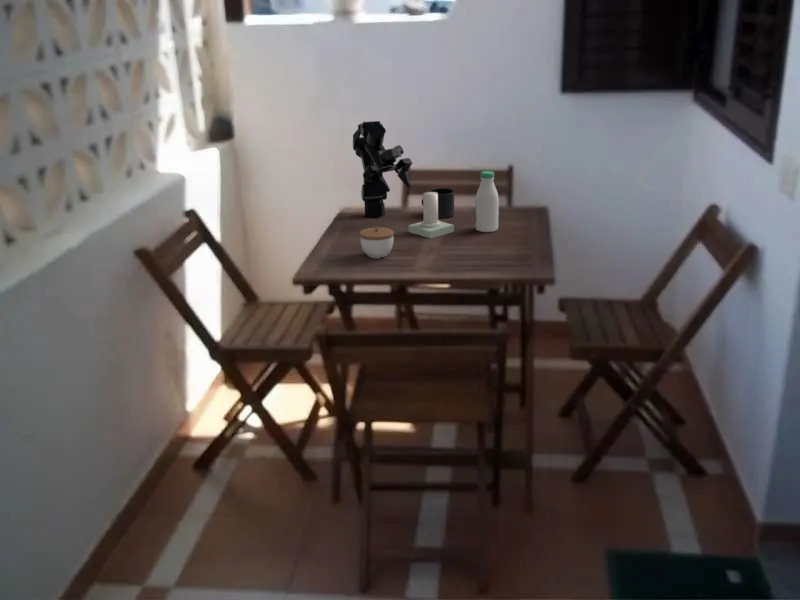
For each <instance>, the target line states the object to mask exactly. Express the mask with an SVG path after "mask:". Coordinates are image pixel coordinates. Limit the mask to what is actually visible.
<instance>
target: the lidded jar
mask: <svg viewBox="0 0 800 600" xmlns="http://www.w3.org/2000/svg"><path fill="white" fill-rule="evenodd" d="M394 235H395V231H394V230H393V229H391V228H387V227H379V226H374V227H368V228H365V229H362V230H361V231H360V232H359V239H360V245H361V249H362V251H363V252H364V254H366V255H367V257H368V256H369V257H368V258H370V257H372V258H371V259H381V258H380V257H384V258H386V257H387V256H388V255H389V253H390V252H391V250H392V249H393V246H394V240H395V239H394ZM385 256H386V257H385Z"/></svg>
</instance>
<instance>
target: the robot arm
mask: <svg viewBox="0 0 800 600" xmlns="http://www.w3.org/2000/svg"><path fill="white" fill-rule="evenodd" d="M386 131H387V130H386V128H385V127H384V126H383V124H382V123H381V121H380V120H374V121H362V123H359V124H357V129H356V131H355V132H354V133H353V135H352V149H353V151H354V153H355V155H356V156H357V157H359V158H360V159H361V164H362V168H363V173H362V177H363V184H362V185H361V191H360V192H361V193H360V195H361V199H362V202H364V214H363V215H362V217H363V218H364V217H365V218H372V219H373V218H375V219H380V218H381V217H382V216H383V217H384V216H385V215H386V213H387V212H386V209H385V207H386V206H385V205H386V204H385V203H384V200H386V201H387V199H388V193H390V191H391V189H390V186H389V184H388V183H387V182H386V179H385V178H384V176H383V175H384V174H383V173H389V172H393V171H394V172H395V173H396V174H397V177H398V179H400V180H401V182H402V183H403V184H404V185H405V186H406V187H407V188H410V187H411V182H410V177H409V170H410V168H411V166H412V165H413V161H412V160H411V158H408V157H405V158H401V157H402V155H403V154H404V153H405V152H404V149H403V147H402V145H400V144H399V145H396V146H394V147H392V148H387V149H386V148H385V146H384V145H383V143H384V139H385V135H386ZM398 158H401V159H399V160H398V162H397V163H396V161H397V159H398ZM394 163H396V164H394ZM384 214H385V215H384Z"/></svg>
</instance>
